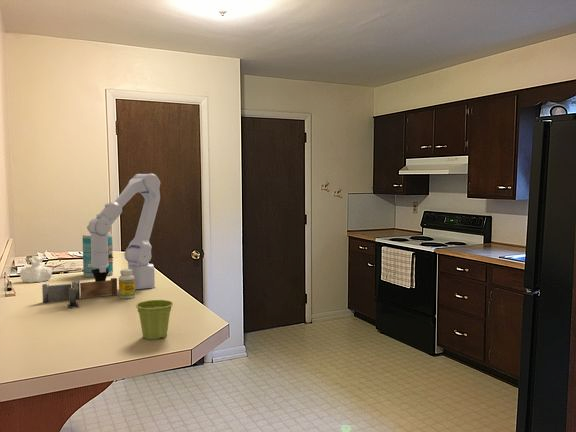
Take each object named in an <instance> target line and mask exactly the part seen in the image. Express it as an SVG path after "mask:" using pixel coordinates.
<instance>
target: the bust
mask: <svg viewBox="0 0 576 432" xmlns="http://www.w3.org/2000/svg"><path fill="white" fill-rule="evenodd" d="M43 260H45V257H41V256H39V255H36V256H35V255H34V256H33V257H31V258H28V261H29V262H30V264H31V266H29V267H28V266H27V267H25V268H22V269H21V270H20V271H19V277H20V280H21V281H22V282H23V283H24V282H25V283H31V284H32V283H42V282H47V281H49V280H51V278H52V275H53V269H52V268H51V267H49V266H45V265H43V266H42V265H41V264H43Z"/></svg>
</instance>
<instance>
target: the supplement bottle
mask: <svg viewBox="0 0 576 432" xmlns="http://www.w3.org/2000/svg"><path fill="white" fill-rule="evenodd" d="M119 271H120V272H119V273H120V276H119V277H118V296H119V298H120V299H132V298H134V297H136V289H135V278H134V276H133V275H132V270H131V269H128V268H125V269H121V270H119Z"/></svg>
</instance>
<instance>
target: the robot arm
mask: <svg viewBox="0 0 576 432" xmlns="http://www.w3.org/2000/svg"><path fill="white" fill-rule="evenodd" d="M161 184H162V183H161V181H160V179H159V177H158V176H157V174H155V173H136V174H134V175H133V177H132V178H131V179H130V180H129V181H128V184H127V185H126V186H125V188H123V190H122V191H121V193H120V194H119V195H118V196H117V198H116V199H115V200H114V201H111V202H108V203H105V204H104V208H103V209H102V210H101V212H99V213H97V214H96V216H95V217H96V218H92V219H91V220H90V221H89V223H88V225H87V226H86V229H87V230H88V231H87V232H89V234H91V264H88V267H94V268H97V269H95V270H91V271H92V273H93V275H94V282H95V281H106V280H107V277H108V276H107V274H108V273H109V270H108V268H106V267H108V266H109V263H108V233H110V232H111V231H112V230H111V229H112V225H113V224H114V223H115V221H116V220H117V219H118V218H119V217H120V216H121V214H122V213H123V207H124V206H126V204H127V203H128V202H129V201H131V199H132V198H133V196H135V195H136V194H138V193H139V194H141V196H142V197H143V199H144V202H143V207H142V210H141V212H140V213H141V214H140V217H139V221H138V224H137V227H136V231H135V236H134V237H133V239H132V240H131V241H130V242H129V244H128V247H127V248H126V249H125V251H124V253H123V254H124V259H125V260H126V262H127V266H128V267H127V269H131V270H132V275H133V276H134V278H135V290H142V289H151V288H156V285H155V283H156V282H155V266H154V264H153V263H150V261H151V259H152V248H153V247H152V245H151V243H150V238H151V235H152V232H153V227H154V224H155V220H156V215H157V212H158V208H159V206H160V201H161V192H160V191H161V190H160V188H161V187H160V186H161Z"/></svg>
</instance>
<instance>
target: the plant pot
mask: <svg viewBox="0 0 576 432" xmlns="http://www.w3.org/2000/svg"><path fill="white" fill-rule="evenodd" d="M173 305H174V301H171V300H167V299H166V300H165V299H149V300H144V301H140V302H139V301H138V303H136V304H135V308H137V313H138V315H139V320H140V328H141V332H142V333H141V334H142V337H143V339H144V338H145V339H147V340H159V339H160V338H166V337H167V335H168V332H169V331H168V330H169V322H170V321H169V320H170V314H171V311H172V307H173Z"/></svg>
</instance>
